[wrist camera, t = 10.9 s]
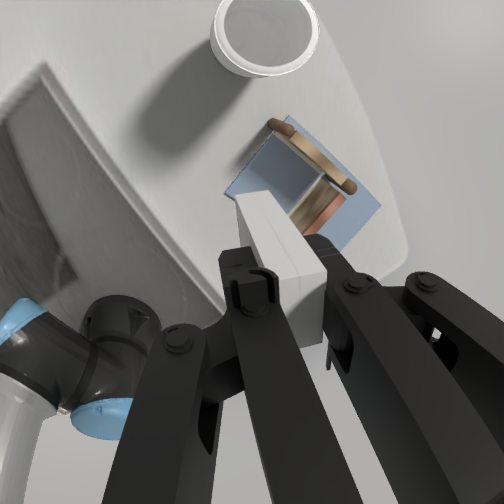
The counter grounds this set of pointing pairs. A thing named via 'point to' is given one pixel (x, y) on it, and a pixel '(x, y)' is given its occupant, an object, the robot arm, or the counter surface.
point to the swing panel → (317, 209)
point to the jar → (264, 36)
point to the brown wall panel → (314, 155)
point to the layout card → (303, 184)
